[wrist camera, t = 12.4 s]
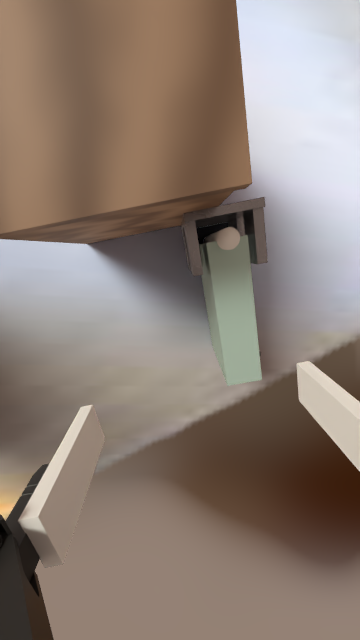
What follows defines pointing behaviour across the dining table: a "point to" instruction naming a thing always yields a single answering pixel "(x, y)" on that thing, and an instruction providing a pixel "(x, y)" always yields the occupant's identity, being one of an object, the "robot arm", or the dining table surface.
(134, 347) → the dining table surface
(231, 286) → the door
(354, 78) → the dining table surface
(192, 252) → the grey open frame
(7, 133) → the cabinet
